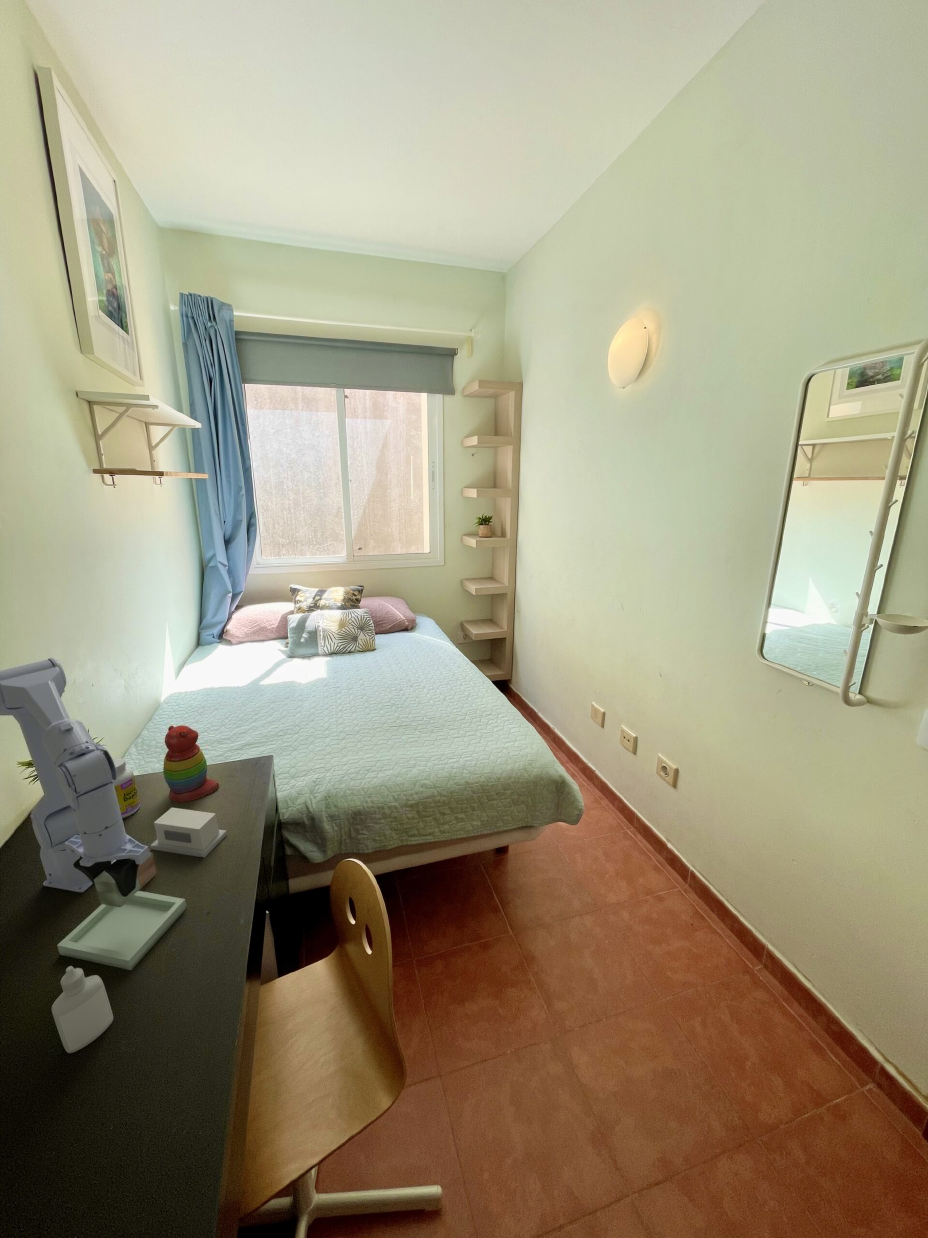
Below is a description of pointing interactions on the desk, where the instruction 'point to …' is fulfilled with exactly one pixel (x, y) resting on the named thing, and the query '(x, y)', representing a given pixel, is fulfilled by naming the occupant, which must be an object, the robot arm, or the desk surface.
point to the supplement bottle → (125, 788)
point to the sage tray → (123, 930)
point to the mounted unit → (187, 832)
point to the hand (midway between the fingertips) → (117, 890)
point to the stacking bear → (186, 766)
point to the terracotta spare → (146, 871)
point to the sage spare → (111, 891)
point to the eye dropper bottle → (81, 1009)
